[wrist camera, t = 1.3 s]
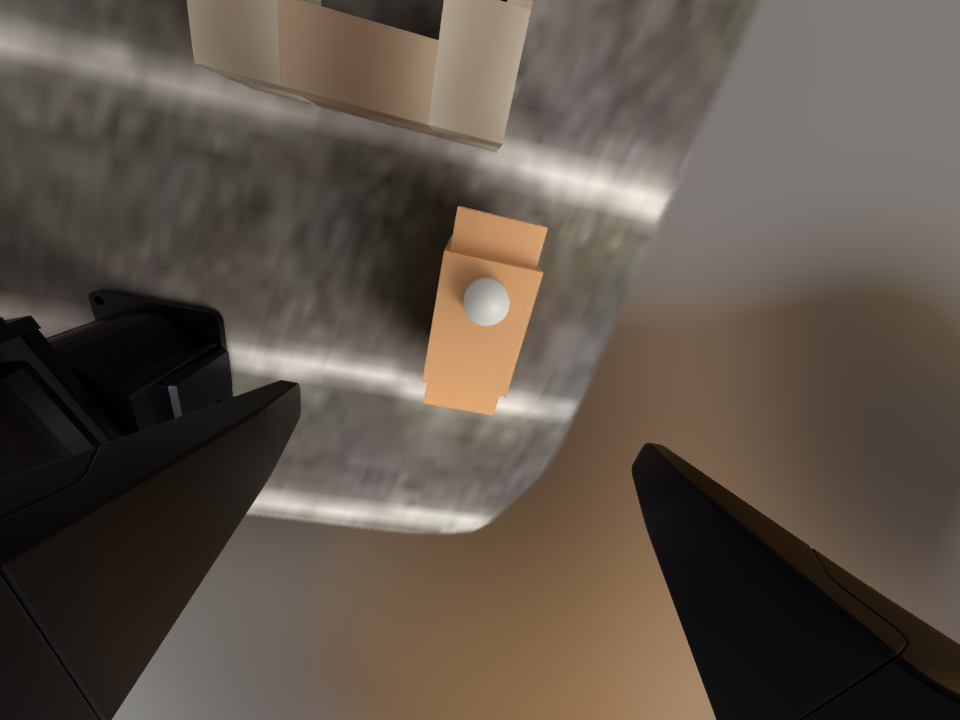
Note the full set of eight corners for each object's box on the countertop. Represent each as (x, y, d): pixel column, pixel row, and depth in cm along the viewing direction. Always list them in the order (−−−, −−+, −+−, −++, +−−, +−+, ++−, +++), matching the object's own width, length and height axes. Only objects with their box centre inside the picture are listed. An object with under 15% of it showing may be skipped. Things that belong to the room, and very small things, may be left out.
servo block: (429, 362, 21) (415, 419, 16) (457, 200, 17) (450, 207, 12) (493, 373, 21) (499, 433, 16) (535, 219, 17) (560, 233, 12)
